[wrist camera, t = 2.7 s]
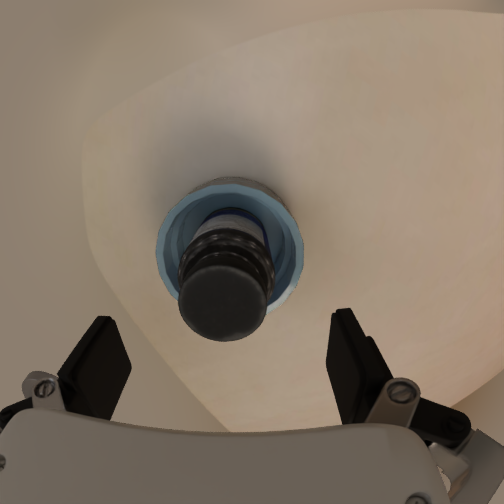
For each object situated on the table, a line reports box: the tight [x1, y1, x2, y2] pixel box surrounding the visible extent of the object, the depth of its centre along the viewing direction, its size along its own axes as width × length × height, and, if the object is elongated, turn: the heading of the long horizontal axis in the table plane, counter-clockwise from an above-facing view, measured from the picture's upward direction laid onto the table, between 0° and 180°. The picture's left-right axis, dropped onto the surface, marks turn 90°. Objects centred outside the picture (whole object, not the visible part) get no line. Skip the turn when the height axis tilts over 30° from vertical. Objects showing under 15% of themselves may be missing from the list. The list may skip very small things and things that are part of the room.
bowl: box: [156, 177, 304, 315], centre depth 23 cm, size 11×11×5 cm
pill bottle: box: [177, 207, 275, 342], centre depth 20 cm, size 6×6×11 cm
